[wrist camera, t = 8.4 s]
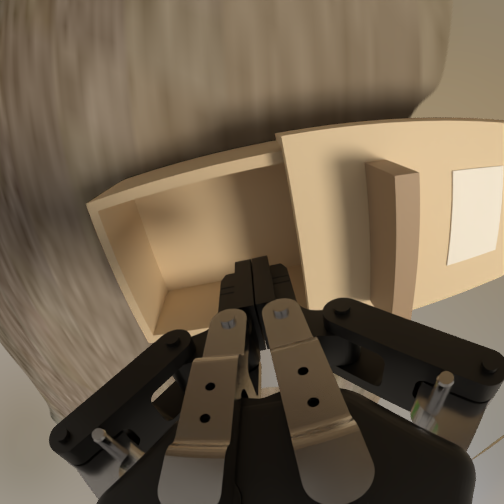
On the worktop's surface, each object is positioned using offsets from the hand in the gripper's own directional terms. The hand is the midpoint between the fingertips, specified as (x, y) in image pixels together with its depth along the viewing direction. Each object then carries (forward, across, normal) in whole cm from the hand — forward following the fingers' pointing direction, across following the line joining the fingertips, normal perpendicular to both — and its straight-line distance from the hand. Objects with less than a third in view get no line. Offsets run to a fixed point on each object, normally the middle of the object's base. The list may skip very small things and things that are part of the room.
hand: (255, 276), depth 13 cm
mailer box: (+8, -1, 0) cm, 8 cm away
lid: (+4, -12, 0) cm, 12 cm away
